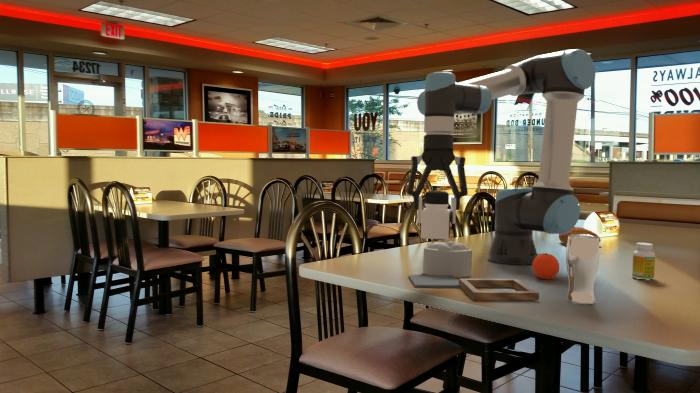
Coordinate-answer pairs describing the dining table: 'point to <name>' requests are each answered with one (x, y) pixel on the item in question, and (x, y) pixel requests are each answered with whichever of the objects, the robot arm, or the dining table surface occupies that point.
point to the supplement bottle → (643, 261)
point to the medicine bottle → (436, 216)
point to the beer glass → (582, 267)
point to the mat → (435, 281)
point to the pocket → (521, 294)
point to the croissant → (576, 231)
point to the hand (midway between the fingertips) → (436, 222)
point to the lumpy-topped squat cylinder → (447, 259)
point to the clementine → (545, 266)
